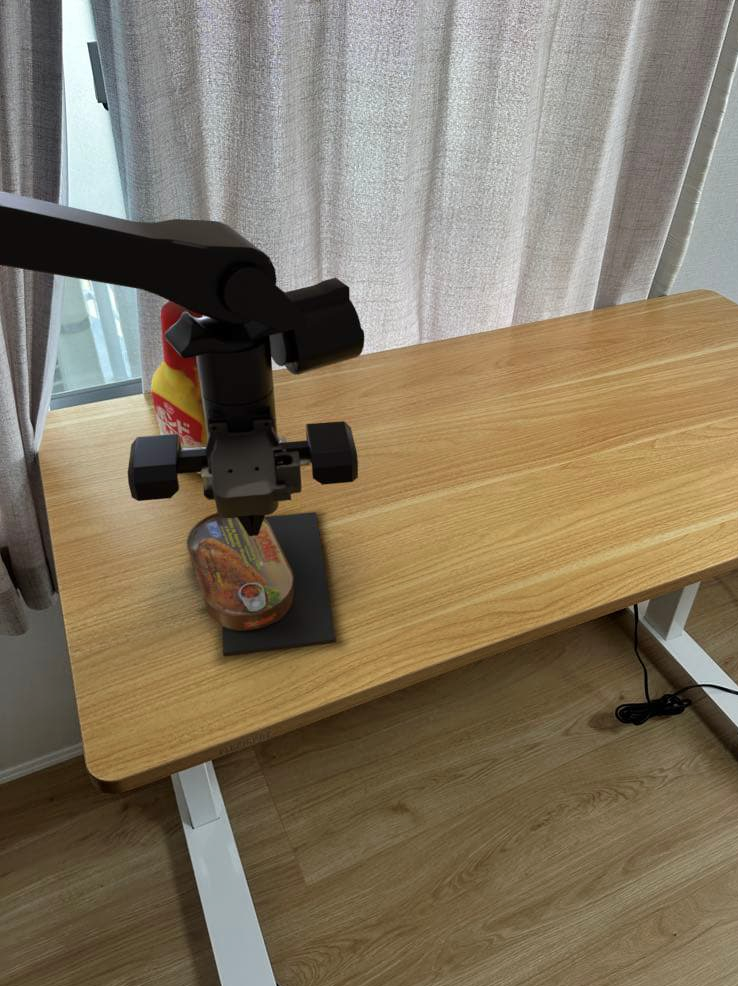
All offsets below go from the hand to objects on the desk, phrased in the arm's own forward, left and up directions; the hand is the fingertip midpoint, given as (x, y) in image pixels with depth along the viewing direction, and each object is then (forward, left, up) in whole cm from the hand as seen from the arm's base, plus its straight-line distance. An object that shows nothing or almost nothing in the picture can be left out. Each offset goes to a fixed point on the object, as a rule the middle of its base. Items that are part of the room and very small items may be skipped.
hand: (253, 533), depth 74 cm
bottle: (-6, +22, -7) cm, 24 cm away
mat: (+1, +1, -7) cm, 7 cm away
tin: (-6, 0, -6) cm, 8 cm away
